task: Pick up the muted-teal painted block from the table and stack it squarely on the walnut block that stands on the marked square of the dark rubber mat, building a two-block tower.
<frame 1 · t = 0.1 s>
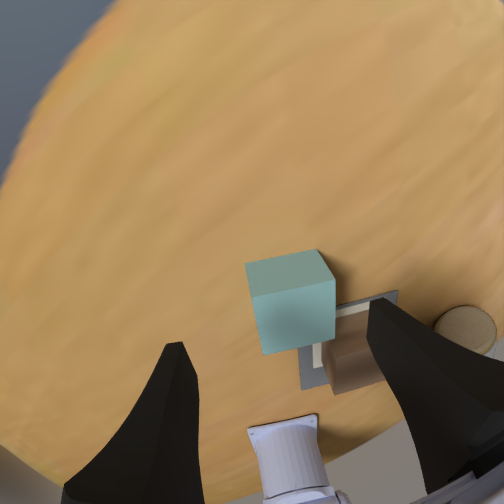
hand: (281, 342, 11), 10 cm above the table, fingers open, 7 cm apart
walnut block: (348, 335, 26), resting on mat
teal block: (284, 284, 23), on the table
ceramic mug: (433, 337, 29), on the table
mat: (346, 345, 27), on the table
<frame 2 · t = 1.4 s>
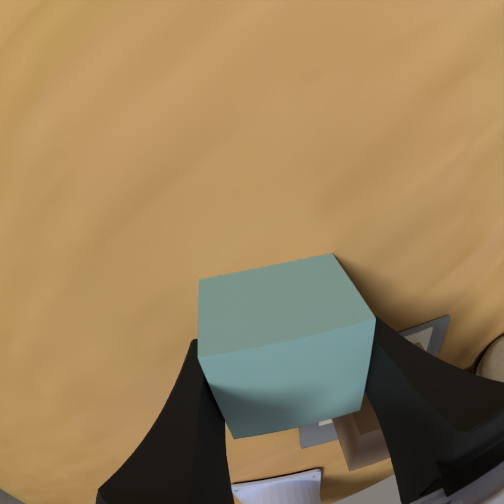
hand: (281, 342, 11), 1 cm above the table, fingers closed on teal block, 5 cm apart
walnut block: (373, 383, 16), resting on mat
teal block: (273, 315, 13), on the table, touching gripper
ceramic mug: (473, 371, 19), on the table
mat: (368, 394, 17), on the table
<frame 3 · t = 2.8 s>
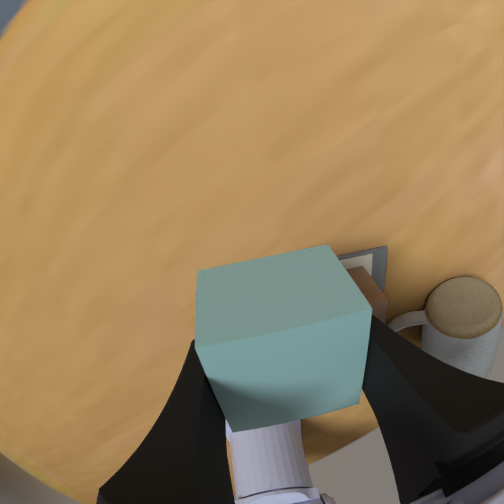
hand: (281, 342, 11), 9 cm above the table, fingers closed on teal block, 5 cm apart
walnut block: (329, 302, 22), resting on mat
teal block: (271, 309, 13), point 7 cm above the table, touching gripper
ceramic mug: (427, 315, 25), on the table
mat: (328, 314, 23), on the table
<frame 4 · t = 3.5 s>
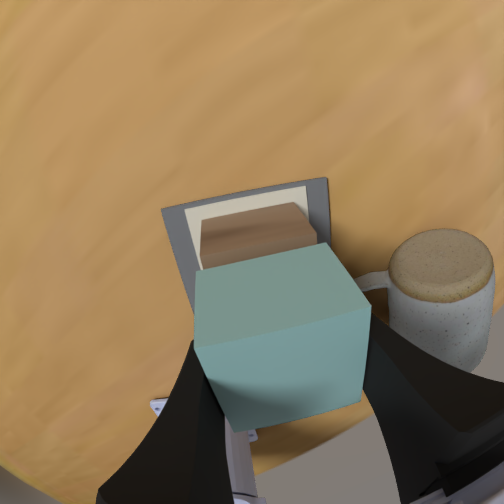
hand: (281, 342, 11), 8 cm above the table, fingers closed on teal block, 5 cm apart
walnut block: (255, 251, 18), resting on mat
teal block: (271, 308, 13), point 6 cm above the table, touching gripper
ceramic mug: (398, 283, 21), on the table
mat: (258, 270, 19), on the table
when the fingers open (7 cm above the table, at t = 4.1 s): teal block stays where it is, resting on walnut block.
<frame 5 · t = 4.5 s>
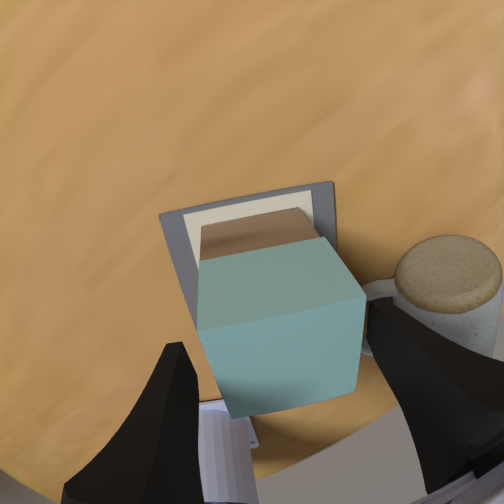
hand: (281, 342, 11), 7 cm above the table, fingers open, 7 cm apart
walnut block: (257, 258, 17), resting on mat, touching teal block
teal block: (270, 299, 13), point 4 cm above the table, touching walnut block
ceramic mug: (403, 290, 20), on the table
mat: (260, 278, 18), on the table
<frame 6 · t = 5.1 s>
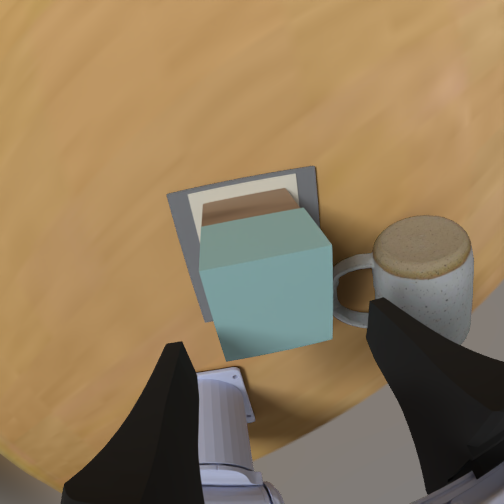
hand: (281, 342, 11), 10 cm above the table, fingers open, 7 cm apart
walnut block: (250, 232, 20), resting on mat, touching teal block
teal block: (260, 261, 16), point 4 cm above the table, touching walnut block
ceramic mug: (384, 267, 23), on the table
mat: (253, 251, 21), on the table
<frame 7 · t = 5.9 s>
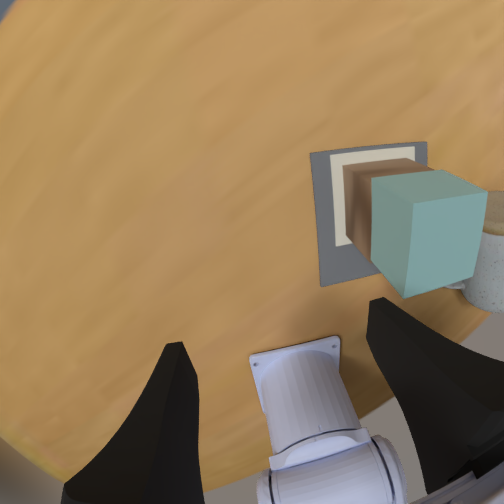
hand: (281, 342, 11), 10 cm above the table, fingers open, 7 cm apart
walnut block: (377, 196, 20), resting on mat, touching teal block
teal block: (408, 214, 17), point 4 cm above the table, touching walnut block
ceramic mug: (463, 237, 24), on the table
mat: (375, 214, 21), on the table
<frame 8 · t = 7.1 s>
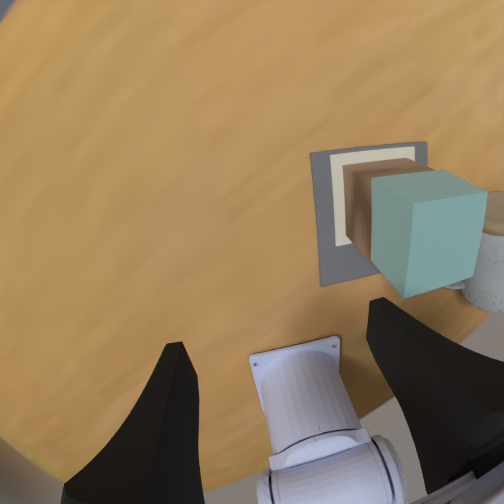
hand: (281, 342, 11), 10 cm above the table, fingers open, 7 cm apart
walnut block: (377, 196, 20), resting on mat, touching teal block
teal block: (408, 214, 17), point 4 cm above the table, touching walnut block
ceramic mug: (463, 237, 24), on the table, touching mat
mat: (375, 214, 21), on the table
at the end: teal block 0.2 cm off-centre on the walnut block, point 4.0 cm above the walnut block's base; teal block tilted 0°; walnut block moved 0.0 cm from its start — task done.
